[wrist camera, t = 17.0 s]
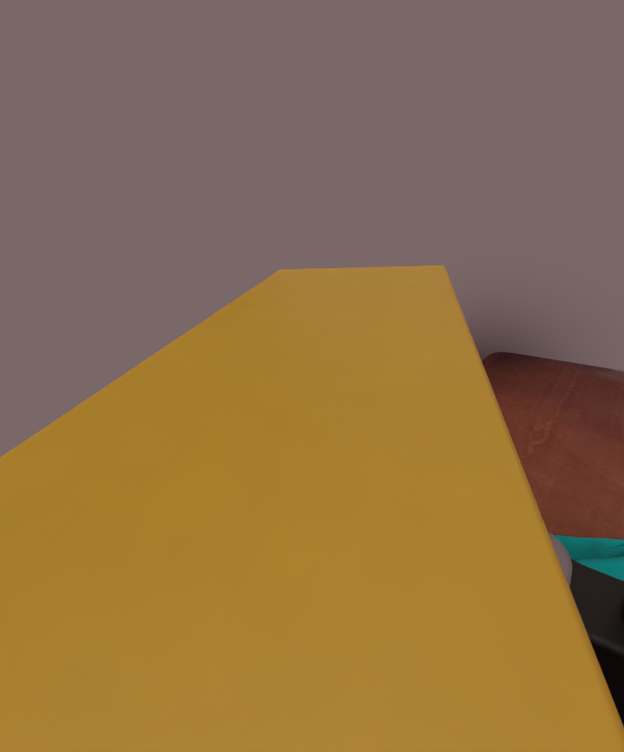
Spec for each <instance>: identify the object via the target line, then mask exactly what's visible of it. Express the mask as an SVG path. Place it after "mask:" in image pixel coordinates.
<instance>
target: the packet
mask: <svg viewBox="0 0 624 752" xmlns="http://www.w3.org/2000/svg"><path fill="white" fill-rule="evenodd" d="M0 752H624V727H623V724H622V721H621V719H620V716H619V714H618V711H617V709H616V706H615V703H614V701H613V698H612V696H611V693H610V691H609V688H608V685H607V683H606V680H605V678H604V675H603V673H602V670H601V667H600V665H599V662H598V660H597V657H596V655H595V652H594V649H593V647H592V644H591V642H590V639H589V637H588V634H587V631H586V629H585V626H584V624H583V621H582V619H581V616H580V613H579V611H578V608H577V606H576V603H575V601H574V598H573V595H572V593H571V590H570V588H569V585H568V583H567V580H566V577H565V575H564V572H563V570H562V567H561V565H560V562H559V559H558V557H557V554H556V552H555V549H554V547H553V544H552V541H551V539H550V536H549V534H548V531H547V529H546V526H545V523H544V521H543V518H542V516H541V513H540V511H539V508H538V505H537V503H536V500H535V498H534V495H533V493H532V490H531V487H530V485H529V482H528V480H527V477H526V475H525V472H524V469H523V467H522V464H521V462H520V459H519V457H518V454H517V451H516V449H515V446H514V444H513V441H512V439H511V436H510V433H509V431H508V428H507V426H506V423H505V421H504V418H503V415H502V413H501V410H500V408H499V405H498V403H497V400H496V397H495V395H494V392H493V390H492V387H491V385H490V382H489V379H488V377H487V374H486V372H485V369H484V366H483V364H482V361H481V359H480V356H479V354H478V351H477V348H476V346H475V344H474V341H473V338H472V336H471V333H470V330H469V328H468V325H467V323H466V320H465V318H464V315H463V313H462V310H461V307H460V305H459V302H458V300H457V297H456V294H455V292H454V290H453V287H452V285H451V282H450V279H449V277H448V274H447V271H446V269H445V266H443V265H436V266H435V265H434V266H397V267H363V268H362V267H361V268H324V269H288V270H279V271H278V272H276V273H274V274H273V275H271V276H270V277H269V278H267V279H266V280H264V281H263V282H261V283H260V284H258V285H257V286H255V287H254V288H252V289H251V290H249V291H248V292H246V293H245V294H243V295H242V296H240V297H239V298H237V299H236V300H234V301H233V302H231V303H230V304H228V305H227V306H225V307H224V308H222V309H221V310H219V311H218V312H216V313H215V314H214V315H212V316H211V317H209V318H207V319H206V320H205V321H203V322H202V323H200V324H199V325H197V326H196V327H194V328H193V329H191V330H190V331H188V332H187V333H185V334H184V335H182V336H181V337H179V338H178V339H176V340H175V341H173V342H172V343H170V344H169V345H167V346H166V347H164V348H163V349H161V350H160V351H158V352H157V353H155V354H154V355H152V356H151V357H149V358H148V359H146V360H145V361H143V362H142V363H140V364H139V365H137V366H136V367H134V368H133V369H131V370H130V371H129V372H127V373H126V374H124V375H123V376H121V377H120V378H118V379H117V380H115V381H114V382H112V383H111V384H109V385H108V386H106V387H105V388H103V389H102V390H100V391H99V392H97V393H96V394H94V395H93V396H91V397H90V398H88V399H87V400H85V401H84V402H82V403H81V404H79V405H78V406H76V407H75V408H73V409H72V410H70V411H69V412H67V413H66V414H64V415H63V416H62V417H60V418H59V419H57V420H56V421H54V422H53V423H51V424H50V425H48V426H47V427H45V428H44V429H42V430H41V431H39V432H38V433H36V434H35V435H33V436H32V437H30V438H29V439H27V440H26V441H24V442H23V443H21V444H20V445H18V446H17V447H15V448H14V449H12V450H11V451H9V452H8V453H7V454H5V455H4V456H2V457H0Z"/></svg>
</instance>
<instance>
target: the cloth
mask: <svg viewBox="0 0 624 752" xmlns="http://www.w3.org/2000/svg"><path fill="white" fill-rule="evenodd" d="M553 536H555V537H556V538H557V539H558V540H559V541H560V542H561V543H562V545H563V546H564V547H565V549H566V550H567V552H568V554H569V556H570V558H571V559H573V560H575V561H576V562H578V563H580V564H582V565H585V566H587V567H589V568H592V569H594V570H597V571H599V572H602V573H604V574H607V575H610V576H612V577H615V578H617V579H620V580H622V581H624V540H618V539H606V538H578V537H570V536H561V535H553Z"/></svg>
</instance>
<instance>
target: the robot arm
mask: <svg viewBox="0 0 624 752" xmlns="http://www.w3.org/2000/svg"><path fill="white" fill-rule="evenodd" d="M548 534H549V536H550V539H551V541H552V544H553V547H554V549H555V552H556V554H557V557H558V559H559V562H560V565H561V567H562V570H563V572H564V575H565V577H566V580H567V583H568V585H569V588H570V590H571V593H572V595H573V598H574V601H575V603H576V606H577V608H578V611H579V613H580V616H581V619H582V621H583V624H584V626H585V629H586V631H587V634H588V637H589V639H590V642H591V644H592V647H593V649H594V652H595V655H596V657H597V660H598V662H599V665H600V667H601V670H602V673H603V675H604V678H605V680H606V683H607V685H608V688H609V691H610V693H611V696H612V698H613V701H614V703H615V706H616V709H617V711H618V714H619V716H620V719H621V721H622V724H623V727H624V581H622V580H620V579H617V578H615V577H612V576H610V575H607V574H604V573H602V572H599V571H597V570H594V569H592V568H589V567H587V566H585V565H582V564H580V563H578V562H576V561H575V560H573V559H571V558H570V556H569V554H568V552H567V550H566V549H565V547H564V546H563V545H562V543H561V542H560V541H559V540H558V539H557V538H556V537H555V536H553V535H552V534H551V533H549V532H548Z"/></svg>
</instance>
